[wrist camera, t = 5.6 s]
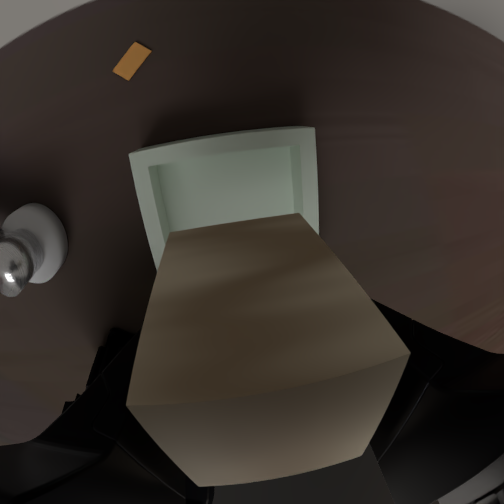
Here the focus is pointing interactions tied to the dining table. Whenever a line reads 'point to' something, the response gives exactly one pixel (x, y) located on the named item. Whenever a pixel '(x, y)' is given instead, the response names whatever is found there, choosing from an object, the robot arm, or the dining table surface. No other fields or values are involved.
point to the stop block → (260, 354)
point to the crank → (18, 260)
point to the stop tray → (225, 180)
